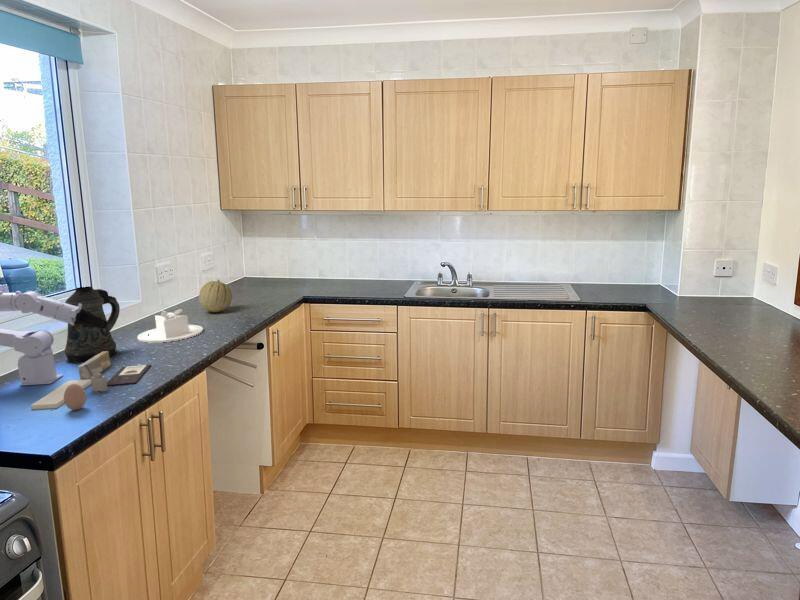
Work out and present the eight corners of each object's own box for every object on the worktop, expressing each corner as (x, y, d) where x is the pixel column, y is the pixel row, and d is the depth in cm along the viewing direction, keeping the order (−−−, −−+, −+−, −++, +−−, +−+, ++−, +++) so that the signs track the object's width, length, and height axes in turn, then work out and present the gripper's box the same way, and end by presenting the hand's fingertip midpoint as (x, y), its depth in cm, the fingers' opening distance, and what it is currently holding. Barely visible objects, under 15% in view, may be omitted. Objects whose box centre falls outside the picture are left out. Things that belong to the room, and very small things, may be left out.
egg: (92, 405, 161) (87, 380, 160) (80, 413, 156) (76, 387, 155) (73, 405, 162) (69, 380, 160) (61, 413, 156) (57, 387, 155)
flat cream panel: (31, 409, 161) (30, 405, 160) (69, 384, 180) (68, 380, 180) (57, 407, 161) (56, 403, 160) (92, 382, 180) (91, 379, 180)
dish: (216, 331, 239) (212, 304, 236) (162, 347, 218) (158, 318, 216) (178, 325, 252) (175, 299, 250) (124, 339, 232) (120, 312, 229)
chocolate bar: (104, 385, 176) (122, 367, 193) (104, 388, 176) (123, 369, 193) (135, 382, 177) (150, 364, 195) (136, 385, 177) (151, 367, 195)
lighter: (108, 389, 173) (104, 364, 172) (104, 391, 172) (100, 365, 170) (88, 388, 175) (83, 363, 174) (83, 390, 174) (79, 365, 172)
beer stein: (55, 363, 203) (42, 293, 198) (91, 347, 222) (80, 283, 217) (98, 363, 201) (86, 292, 195) (131, 347, 219) (121, 281, 214)
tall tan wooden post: (80, 381, 182) (78, 366, 181) (104, 365, 198) (102, 351, 197) (87, 381, 182) (84, 366, 181) (110, 365, 198) (108, 351, 197)
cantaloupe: (194, 315, 268) (190, 283, 265) (210, 308, 282) (206, 277, 279) (224, 315, 265) (220, 283, 262) (238, 308, 279) (235, 277, 276)
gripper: (58, 296, 176) (105, 310, 179) (70, 301, 189) (113, 314, 193) (49, 318, 174) (96, 332, 177) (61, 322, 188) (105, 335, 191)
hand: (105, 324), depth 185 cm, fingers open, 7 cm apart
